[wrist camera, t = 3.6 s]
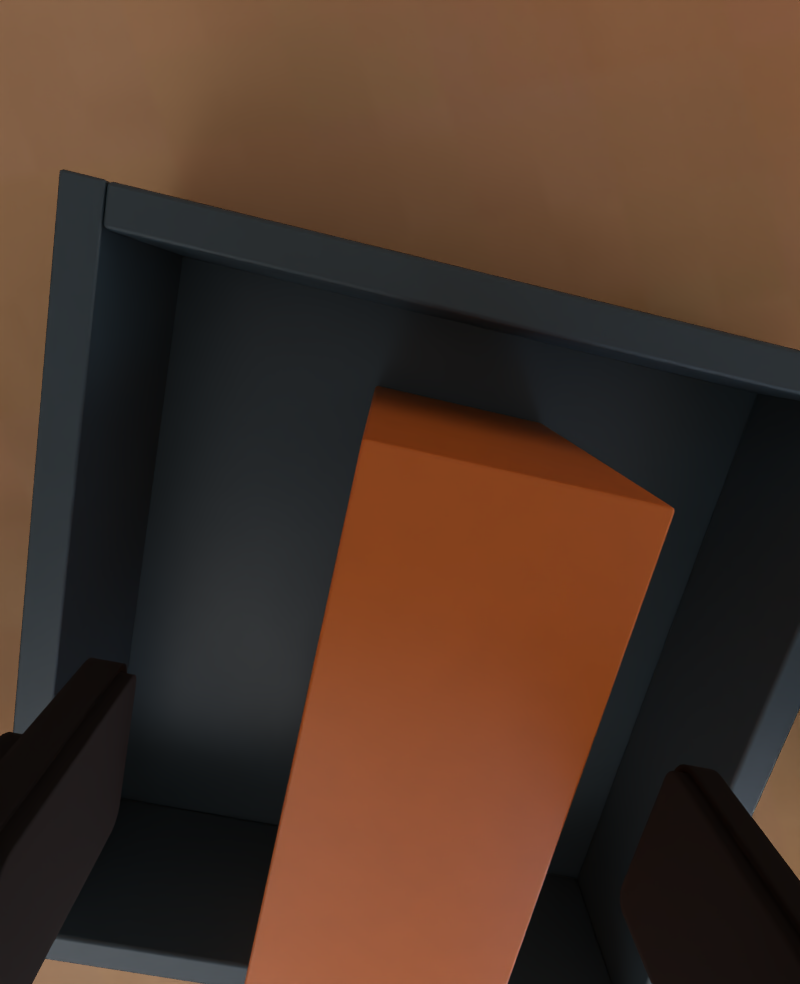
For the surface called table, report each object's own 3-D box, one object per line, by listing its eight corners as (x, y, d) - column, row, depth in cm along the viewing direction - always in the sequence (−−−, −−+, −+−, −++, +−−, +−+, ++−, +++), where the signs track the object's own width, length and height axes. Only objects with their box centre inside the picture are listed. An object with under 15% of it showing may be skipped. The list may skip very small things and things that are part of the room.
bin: (784, 368, 17) (945, 385, 12) (588, 887, 21) (647, 1054, 16) (161, 217, 15) (58, 167, 11) (90, 800, 20) (-7, 953, 15)
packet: (542, 423, 16) (678, 508, 9) (434, 797, 19) (464, 1111, 12) (376, 384, 16) (362, 438, 8) (291, 771, 19) (224, 1075, 11)
